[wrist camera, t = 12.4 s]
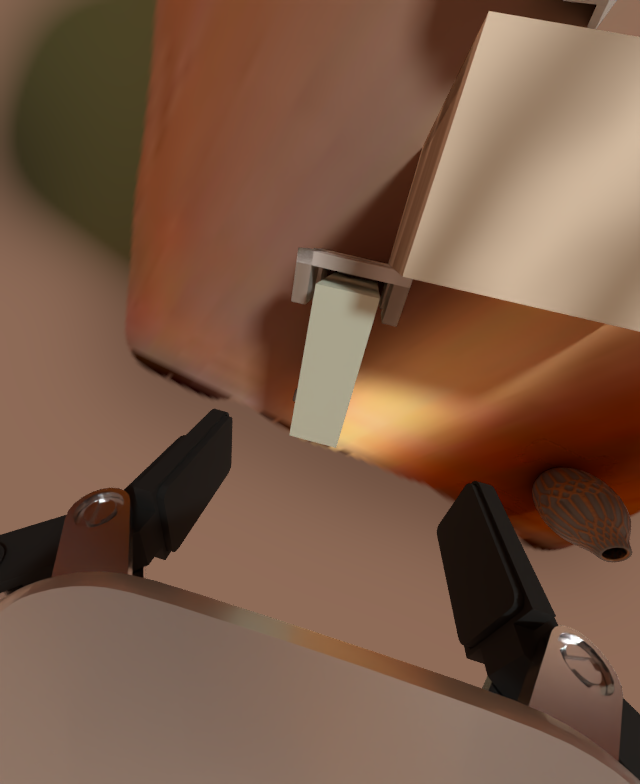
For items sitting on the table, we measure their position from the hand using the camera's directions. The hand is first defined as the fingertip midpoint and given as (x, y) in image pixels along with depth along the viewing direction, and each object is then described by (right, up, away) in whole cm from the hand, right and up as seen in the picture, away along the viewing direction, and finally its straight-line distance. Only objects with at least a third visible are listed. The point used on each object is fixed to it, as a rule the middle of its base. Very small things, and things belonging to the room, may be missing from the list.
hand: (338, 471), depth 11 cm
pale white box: (+1, +9, +17) cm, 19 cm away
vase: (+27, -7, +21) cm, 35 cm away
